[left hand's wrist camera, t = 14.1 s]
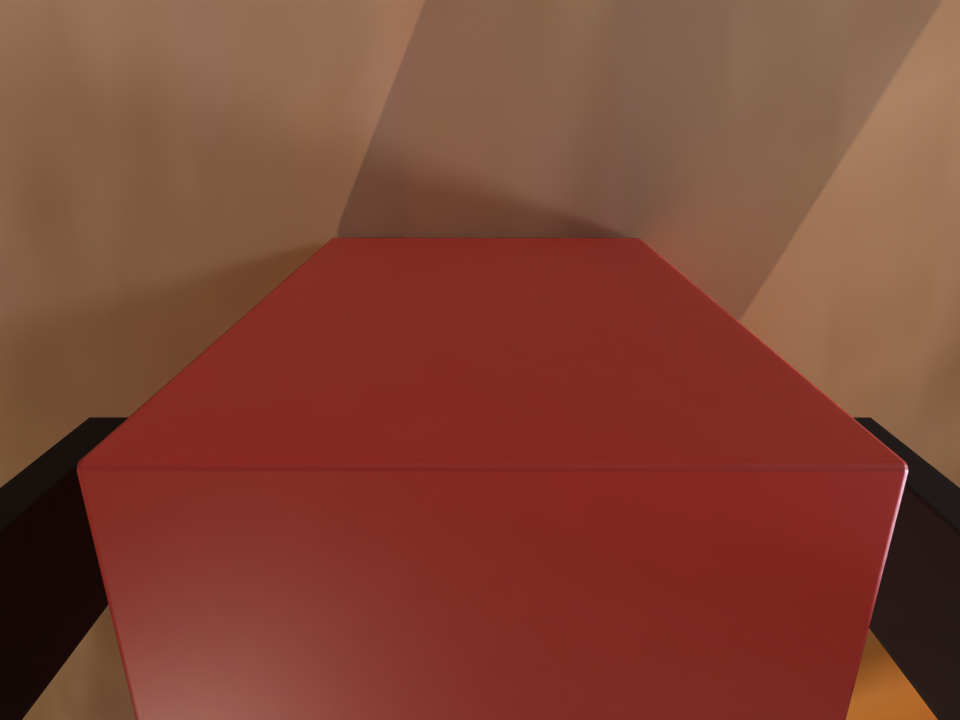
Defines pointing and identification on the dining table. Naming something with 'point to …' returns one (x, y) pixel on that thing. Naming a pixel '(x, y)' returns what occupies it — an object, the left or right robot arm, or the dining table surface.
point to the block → (490, 501)
